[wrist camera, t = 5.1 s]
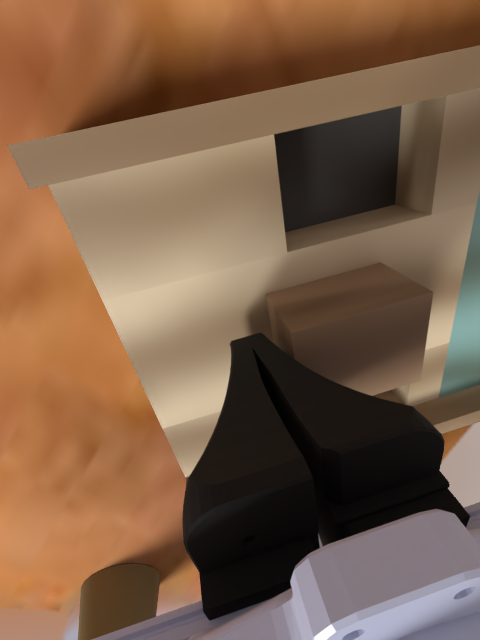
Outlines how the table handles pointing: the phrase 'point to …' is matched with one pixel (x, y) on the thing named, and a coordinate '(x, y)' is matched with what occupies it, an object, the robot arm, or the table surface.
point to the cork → (117, 599)
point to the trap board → (278, 224)
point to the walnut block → (355, 327)
